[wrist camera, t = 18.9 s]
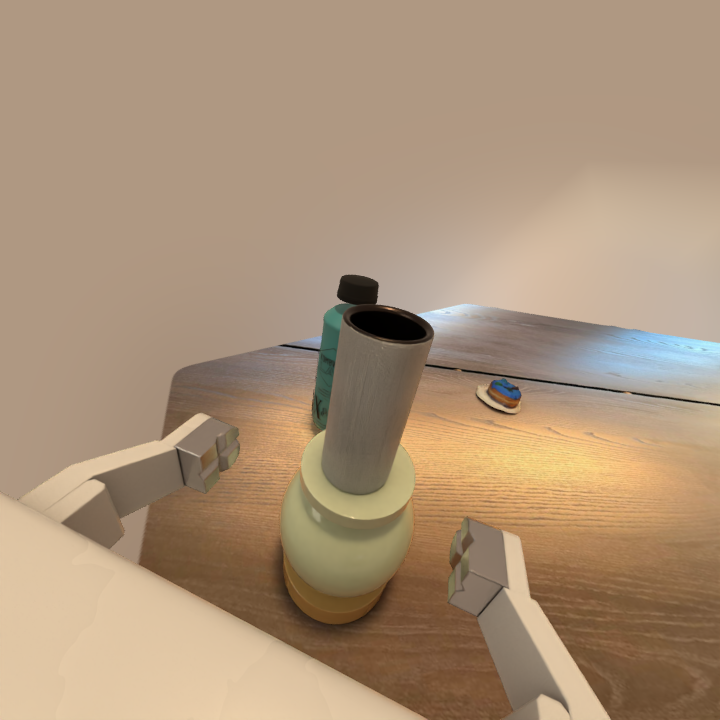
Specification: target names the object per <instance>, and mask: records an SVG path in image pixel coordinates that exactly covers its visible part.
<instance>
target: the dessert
mask: <svg viewBox="0 0 720 720" xmlns="http://www.w3.org/2000/svg"><path fill="white" fill-rule="evenodd" d="M477 388H478V390H477V391H476V394H477V395H478V397H479V398H481V399H482V400H483V401H485V402H486V403H487V404H489V405H490V406H492V407H494V408H497V409H500V410H503V411H505V412H508V413H518V412H520V410H521V402H520V398H521V392H520V391H519V389H518V387H516V386H514V385H512V384H510V383H508V382H507V380H506V379H504V378H503V379H502V380H494V381H492V382H491V384H490V385H487V384H483V385H479V386H478V387H477Z"/></svg>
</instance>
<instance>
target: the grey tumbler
mask: <svg viewBox="0 0 720 720" xmlns="http://www.w3.org/2000/svg"><path fill="white" fill-rule="evenodd" d="M433 338H434V330H433V328H432V327H431V325H430V324H429V323H428V322H427V321H425V320H424V319H422V318H421V317H419V316H417V315H415V314H413V313H410V312H408V311H405V310H402V309H399V308H395V307H390V306H384V305H375V304H364V305H357V306H353V307H350V308H348V309H347V310H346V311H345V312H344V313H343V315H342V321H341V328H340V335H339V342H338V349H337V356H336V363H335V370H334V376H333V383H332V390H331V397H330V404H329V411H328V418H327V425H326V432H325V439H324V446H323V453H322V468H323V472H324V474H325V476H326V477H327V479H328V480H329V481H330V482H331V483H332V484H333V485H334V486H336V487H337V488H339V489H341V490H343V491H345V492H348V493H352V494H367V493H371V492H374V491H376V490H378V489H379V488H381V487H382V486H383V485H384V484H385V482H386V481H387V479H388V476H389V474H390V471H391V468H392V465H393V462H394V459H395V456H396V453H397V450H398V447H399V444H400V440H401V437H402V434H403V431H404V428H405V425H406V422H407V419H408V416H409V413H410V409H411V406H412V403H413V400H414V397H415V394H416V391H417V388H418V385H419V382H420V378H421V375H422V372H423V369H424V366H425V363H426V360H427V357H428V354H429V351H430V347H431V344H432V341H433Z"/></svg>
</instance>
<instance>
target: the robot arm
mask: <svg viewBox="0 0 720 720" xmlns="http://www.w3.org/2000/svg"><path fill="white" fill-rule="evenodd" d="M238 436H239V430H238V428H236V427H234V426H232V425H229V424H227V423H225V422H222V421H220V420H218V419H215V418H213V417H210V416H208V415H205V414H203V413H200V414H196V415H195V416H193V417H192V418H191V419H189V420H188V421H187V422H185V423H184V424H183V425H181V426H180V427H179V428H177V429H176V430H175V431H173V432H172V433H171V434H169V435H168V436H167V437H165V438H164V439H163V440H161V441H158V440H156V441H152V442H149V443H145V444H142V445H138V446H135V447H131V448H128V449H125V450H121V451H118V452H114V453H111V454H108V455H104V456H101V457H97V458H94V459H91V460H87V461H84V462H80V463H77V464H73V465H71V466H69V467H67V468H65V469H64V470H62V471H61V472H59V473H58V474H56V475H55V476H53V477H51V478H50V479H49V480H47V481H45V482H44V483H42V484H41V485H39V486H37V487H36V488H34V489H33V490H31V491H30V492H28V493H27V494H25V495H23V496H22V497H20V498H19V499H17V500H16V499H14V498H12V497H11V496H9V495H7V494H5V493H3V492H1V491H0V720H428V719H426V718H425V717H423V716H421V715H419V714H417V713H415V712H413V711H411V710H410V709H408V708H406V707H404V706H402V705H400V704H398V703H396V702H395V701H393V700H391V699H389V698H387V697H385V696H383V695H381V694H380V693H378V692H376V691H374V690H372V689H370V688H368V687H366V686H365V685H363V684H361V683H359V682H357V681H355V680H353V679H352V678H350V677H348V676H346V675H344V674H342V673H340V672H338V671H337V670H335V669H333V668H331V667H329V666H327V665H325V664H323V663H322V662H320V661H318V660H316V659H314V658H312V657H310V656H308V655H307V654H305V653H303V652H301V651H299V650H297V649H295V648H293V647H292V646H290V645H288V644H286V643H284V642H282V641H280V640H278V639H277V638H275V637H273V636H271V635H269V634H267V633H265V632H263V631H262V630H260V629H258V628H256V627H254V626H252V625H250V624H248V623H247V622H245V621H243V620H241V619H239V618H237V617H235V616H234V615H232V614H230V613H228V612H226V611H224V610H222V609H220V608H219V607H217V606H215V605H213V604H211V603H209V602H207V601H205V600H204V599H202V598H200V597H198V596H196V595H194V594H192V593H190V592H189V591H187V590H185V589H183V588H181V587H179V586H177V585H175V584H174V583H172V582H170V581H168V580H166V579H164V578H162V577H160V576H159V575H157V574H155V573H153V572H151V571H149V570H147V569H145V568H144V567H142V566H140V565H138V564H136V563H134V562H132V561H130V560H128V559H127V558H125V557H123V556H121V555H119V554H117V553H115V552H114V551H112V550H110V548H111V547H112V546H113V545H114V544H115V543H116V542H117V541H118V540H119V539H120V538H121V537H122V536H123V535H124V531H125V530H124V528H123V526H122V523H121V521H120V518H122V517H124V516H127V515H129V514H130V513H133V512H135V511H136V510H139V509H141V508H143V507H145V506H147V505H149V504H151V503H153V502H155V501H157V500H159V499H161V498H163V497H165V496H167V495H169V494H171V493H173V492H175V491H177V490H179V489H181V488H183V487H184V485H185V486H188V487H190V488H193V489H195V490H197V491H200V492H202V493H205V494H206V493H207V492H208V491H209V490H210V489H211V488H212V487H213V485H214V484H215V483H216V482H217V481H218V480H219V479H220V472H222V471H225V470H227V469H229V468H230V467H231V466H232V465H233V463H234V462H235V460H236V459H237V457H238V455H239V451H240V444H239V442H238V441H237V439H236V438H237V437H238ZM449 562H450V564H451V567H452V569H453V572H452V573H451V575H450V577H449V581H448V603H449V604H451V605H453V606H455V607H457V608H459V609H461V610H464V611H466V612H468V613H470V614H472V615H474V616H476V617H478V618H477V621H478V623H479V626H480V628H481V631H482V633H483V636H484V638H485V641H486V644H487V646H488V649H489V651H490V654H491V656H492V659H493V661H494V664H495V666H496V669H497V671H498V674H499V677H500V679H501V682H502V684H503V687H504V689H505V692H506V694H507V697H508V699H509V702H510V705H511V707H512V710H513V712H512V713H510V714H509V715H507V716H506V717H504V718H503V719H501V720H611V719H610V717H609V716H608V714H607V713H606V711H605V709H604V708H603V706H602V705H601V703H600V701H599V700H598V698H597V697H596V695H595V693H594V692H593V690H592V689H591V687H590V686H589V684H588V682H587V681H586V679H585V678H584V676H583V674H582V673H581V671H580V670H579V668H578V666H577V665H576V663H575V662H574V660H573V658H572V657H571V655H570V654H569V652H568V651H567V649H566V647H565V646H564V644H563V643H562V641H561V639H560V638H559V636H558V635H557V633H556V631H555V630H554V628H553V627H552V625H551V623H550V622H549V620H548V619H547V617H546V615H545V614H544V612H543V611H542V609H541V608H540V606H539V604H538V603H537V601H535V600H533V599H531V597H530V591H529V585H528V580H527V574H526V568H525V562H524V556H523V550H522V544H521V540H520V538H519V536H517V535H514V534H512V533H509V532H507V531H504V530H501V529H499V528H497V527H495V526H492V525H489V524H486V523H484V522H481V521H478V520H476V519H473V518H470V517H468V516H467V517H465V518H464V519H463V521H462V526H461V530H458V531H457V532H456V534H455V536H454V538H453V541H452V545H451V550H450V561H449Z"/></svg>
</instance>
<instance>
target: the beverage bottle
mask: <svg viewBox="0 0 720 720" xmlns="http://www.w3.org/2000/svg"><path fill="white" fill-rule="evenodd" d="M378 286H379V285H378V282H376V281H375V280H373V279H371V278H368V277H364V276H359V275H344V276H342V277H341V280H340V285H339V289H338V292H337V297H338V298H339V299H340V300H342V301H344V302H346V303H349V304H339V305H336V306H335V307H333V308H331V309H330V310H328V311H327V312H326V313H325V315H324V326H323V333H322V341H321V348H320V350H319V351H320V353H319V351H318V353H319V362H318V358H317V362H318V368H317V369H318V370H316V371H317V375H316V376H317V377H316V387H315V395H314V392H313V397H314V403H313V402H312V409H311V412H312V415H311V416H312V417H313V421H314V423H315V425H316V426H317V427H318V428H319V429H321V430H322V431H323V430H325V429H326V425H327V418H328V411H329V404H330V397H331V390H332V383H333V376H334V370H335V363H336V356H337V349H338V342H339V335H340V328H341V321H342V315H343V313H344V312H345V311H346V310H347V309H348V308H350V307H353V306H357V305H364V304H376V303H377V298H378V296H377V294H378ZM312 401H313V400H312Z"/></svg>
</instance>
